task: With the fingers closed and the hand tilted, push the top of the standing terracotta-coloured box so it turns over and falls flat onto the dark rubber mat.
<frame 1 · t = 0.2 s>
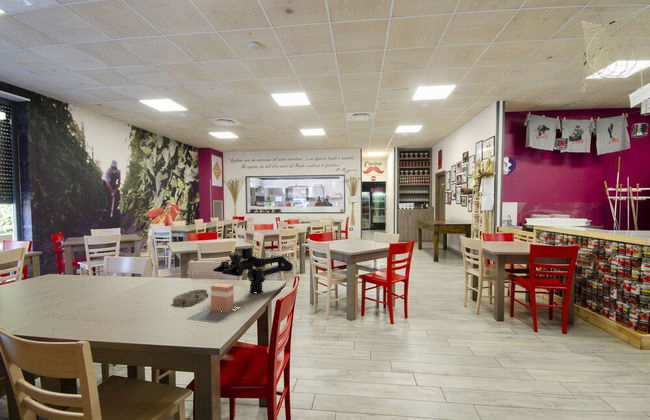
hand: (217, 271, 156), 17 cm above the table, tool horizontal, fingers open, 9 cm apart
weathered wood piece: (193, 300, 160), on the table
mat: (216, 313, 139), on the table
tall box: (222, 309, 143), resting on mat
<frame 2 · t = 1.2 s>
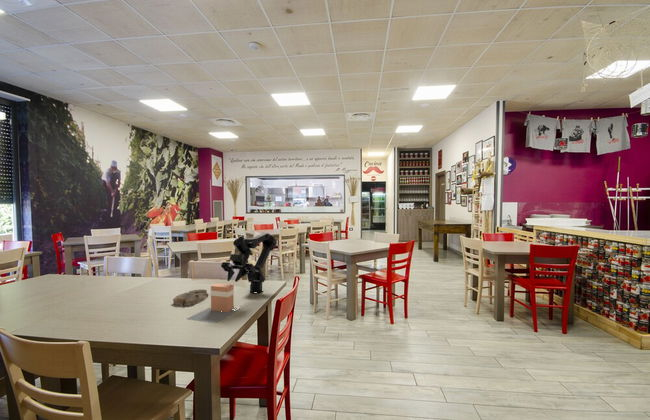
hand: (231, 281, 151), 13 cm above the table, tool tilted 45°, fingers open, 4 cm apart
nothing on the table moved.
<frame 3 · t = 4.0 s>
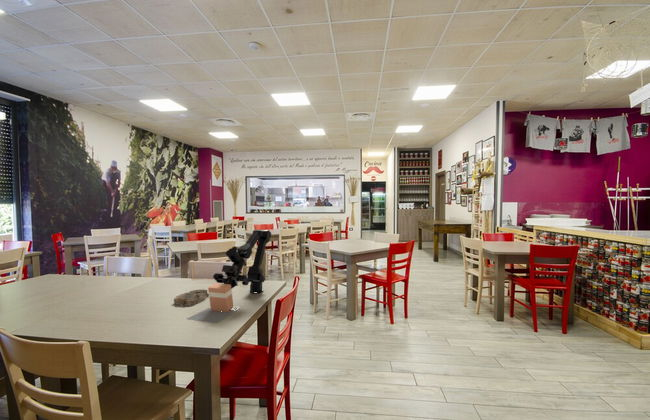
hand: (224, 293, 145), 8 cm above the table, tool tilted 45°, fingers closed
tall box: (222, 308, 143), point 1 cm above the table, tilted 10°, touching mat
everything else where it was.
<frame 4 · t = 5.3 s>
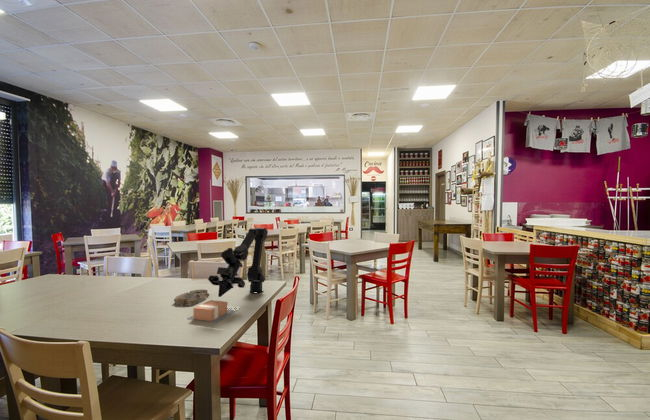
hand: (219, 296, 141), 8 cm above the table, tool tilted 45°, fingers closed
tall box: (219, 306, 141), point 3 cm above the table, tilted 90°, touching mat
everything else where it was.
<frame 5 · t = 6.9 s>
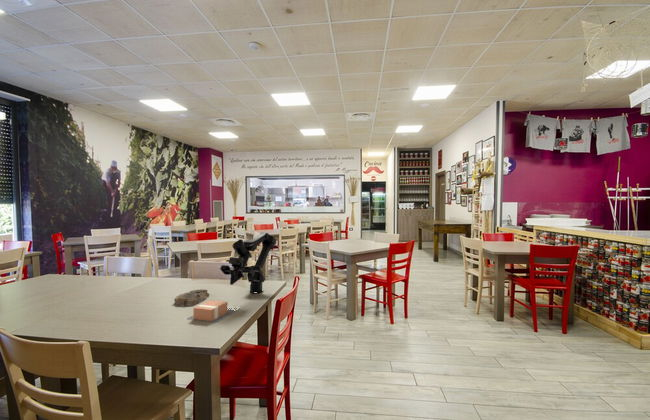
hand: (231, 284, 151), 11 cm above the table, tool tilted 45°, fingers closed
nothing on the table moved.
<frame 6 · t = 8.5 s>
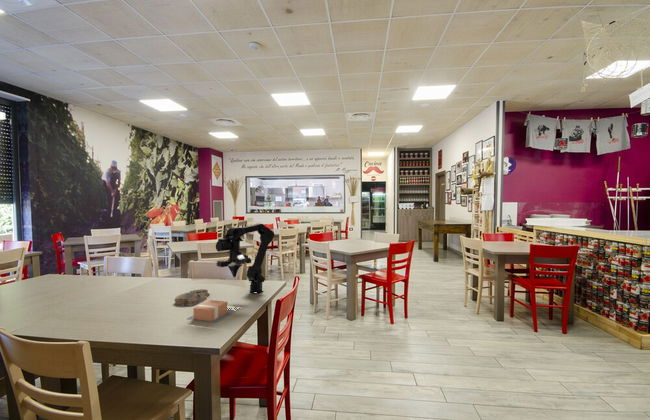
hand: (234, 277, 163), 12 cm above the table, tool pointing down, fingers closed
nothing on the table moved.
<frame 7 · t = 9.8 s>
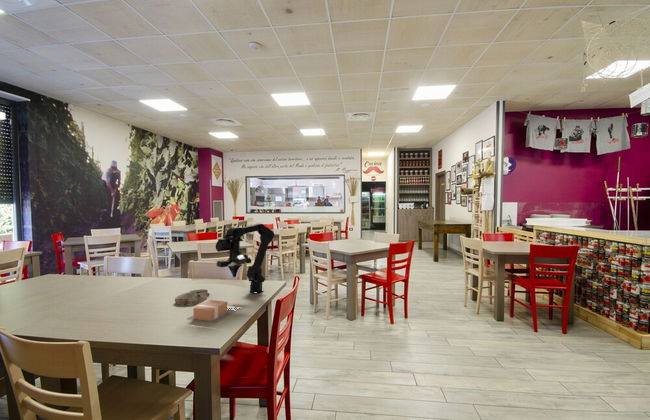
hand: (234, 277, 163), 12 cm above the table, tool pointing down, fingers closed
nothing on the table moved.
at the end: tall box tilted 90°; tall box 1.9 cm from the mat (horizontally); tall box point 2.9 cm above the table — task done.
